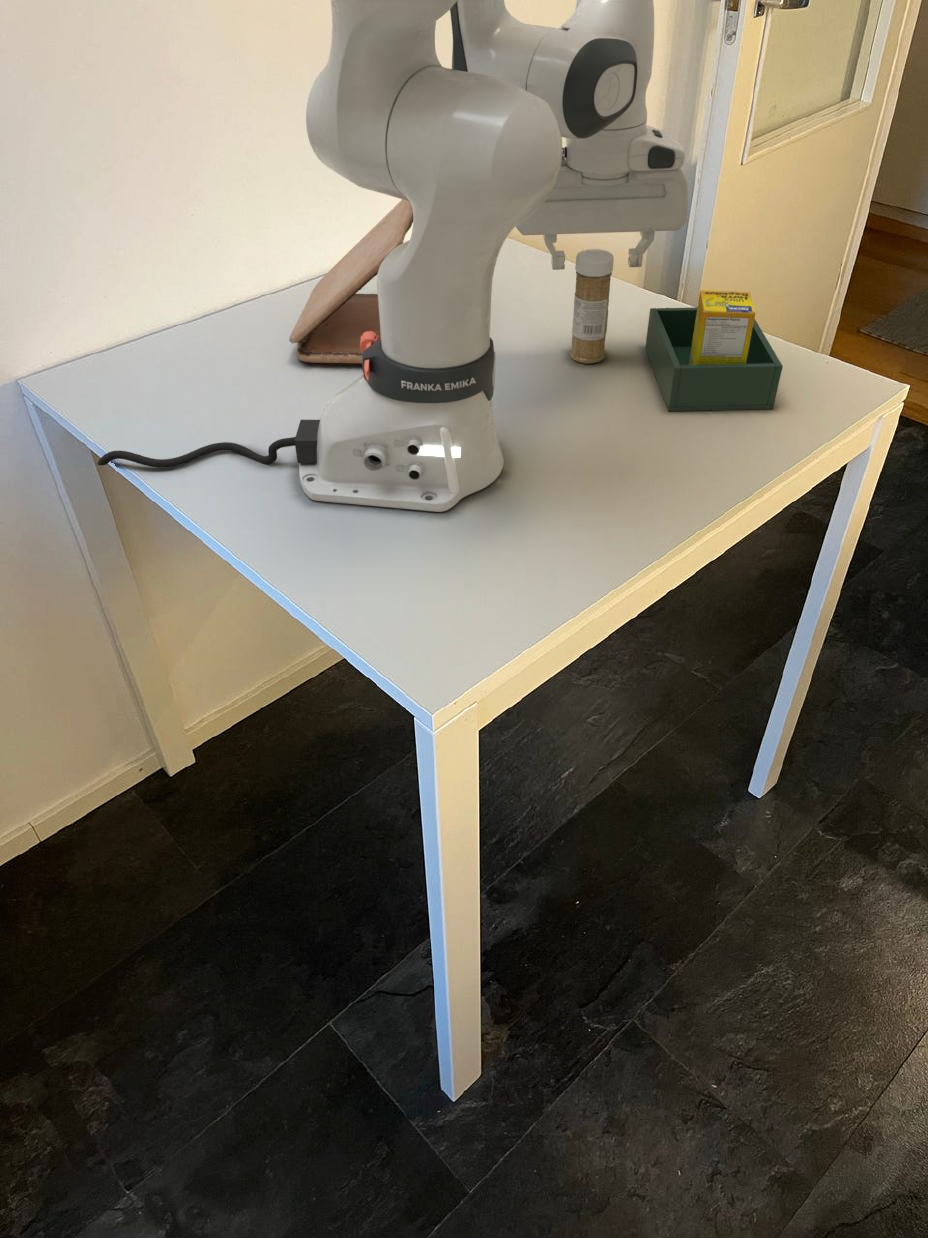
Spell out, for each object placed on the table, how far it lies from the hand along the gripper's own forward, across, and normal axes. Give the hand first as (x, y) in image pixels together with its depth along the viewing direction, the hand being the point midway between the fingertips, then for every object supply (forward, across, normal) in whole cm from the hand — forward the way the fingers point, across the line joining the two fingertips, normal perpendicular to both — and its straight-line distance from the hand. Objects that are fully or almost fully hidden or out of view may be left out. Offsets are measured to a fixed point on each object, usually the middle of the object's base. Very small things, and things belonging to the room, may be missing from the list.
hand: (596, 266), depth 118 cm
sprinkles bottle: (+12, 0, -1) cm, 12 cm away
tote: (+12, +14, -7) cm, 19 cm away
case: (+12, -28, +8) cm, 31 cm away
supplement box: (+11, +14, -10) cm, 21 cm away
